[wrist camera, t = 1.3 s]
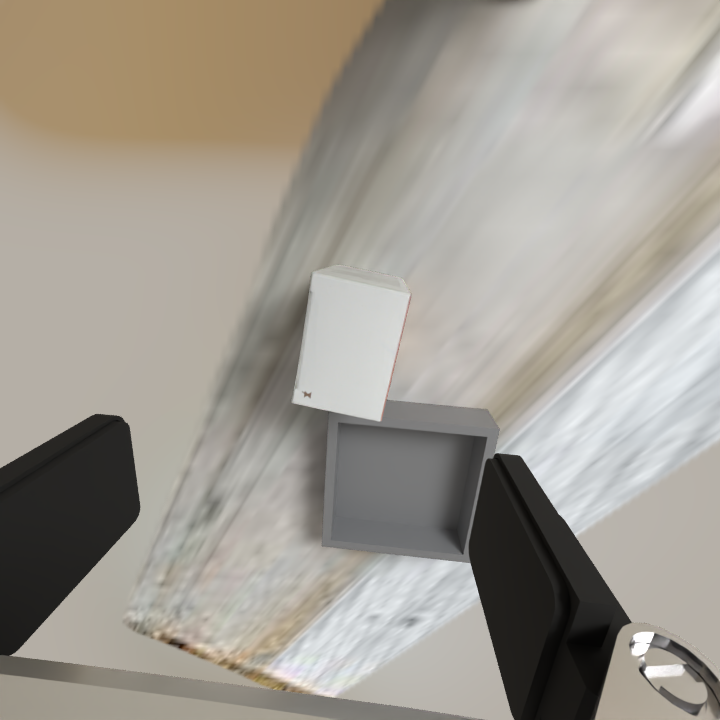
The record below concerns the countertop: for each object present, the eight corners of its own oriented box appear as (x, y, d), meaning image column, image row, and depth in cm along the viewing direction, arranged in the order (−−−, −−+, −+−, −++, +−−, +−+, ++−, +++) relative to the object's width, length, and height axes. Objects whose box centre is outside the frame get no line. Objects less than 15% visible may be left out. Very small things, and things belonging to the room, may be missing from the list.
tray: (334, 395, 32) (328, 412, 29) (487, 409, 32) (499, 429, 28) (327, 518, 36) (321, 546, 33) (462, 533, 36) (470, 563, 33)
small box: (382, 368, 31) (381, 427, 21) (319, 355, 31) (288, 407, 21) (404, 276, 29) (414, 293, 19) (336, 261, 29) (310, 270, 19)
